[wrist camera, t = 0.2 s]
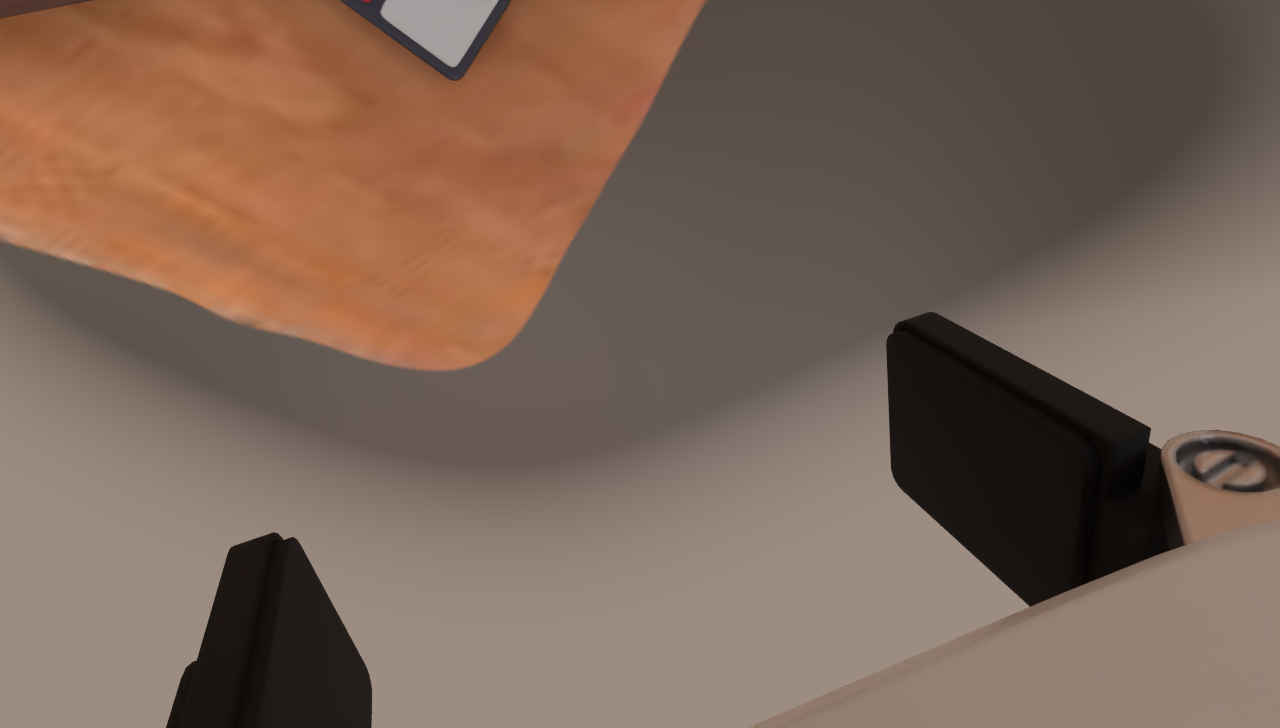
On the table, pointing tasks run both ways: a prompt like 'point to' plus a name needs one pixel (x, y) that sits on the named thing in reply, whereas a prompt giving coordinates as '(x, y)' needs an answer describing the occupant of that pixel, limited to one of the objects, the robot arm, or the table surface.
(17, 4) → the step rack
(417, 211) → the table surface
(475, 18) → the calculator
